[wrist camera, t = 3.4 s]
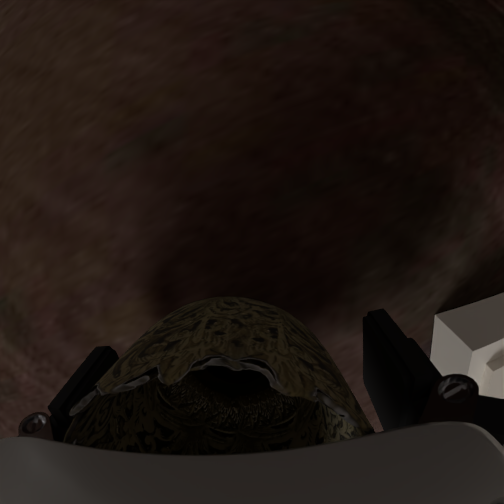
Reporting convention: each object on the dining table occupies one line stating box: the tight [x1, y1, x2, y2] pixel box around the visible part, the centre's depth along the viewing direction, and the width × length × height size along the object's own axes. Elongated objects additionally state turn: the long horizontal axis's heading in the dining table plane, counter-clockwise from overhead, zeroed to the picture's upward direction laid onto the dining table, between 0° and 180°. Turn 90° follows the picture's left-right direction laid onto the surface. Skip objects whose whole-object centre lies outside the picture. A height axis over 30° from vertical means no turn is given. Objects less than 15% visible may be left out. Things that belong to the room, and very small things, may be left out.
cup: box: [63, 296, 375, 455], centre depth 9 cm, size 8×7×8 cm
